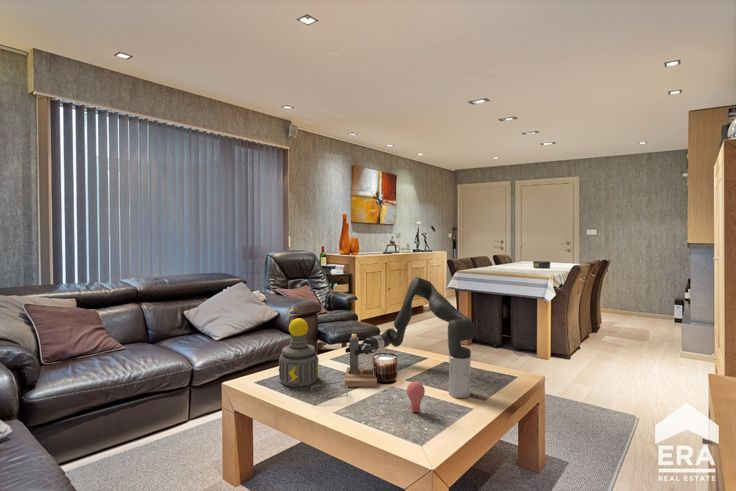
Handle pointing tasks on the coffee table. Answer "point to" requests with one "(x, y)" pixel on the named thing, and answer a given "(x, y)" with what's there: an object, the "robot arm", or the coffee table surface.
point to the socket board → (360, 377)
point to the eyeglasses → (332, 397)
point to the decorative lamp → (298, 358)
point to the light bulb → (415, 395)
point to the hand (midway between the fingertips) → (350, 352)
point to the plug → (353, 347)
